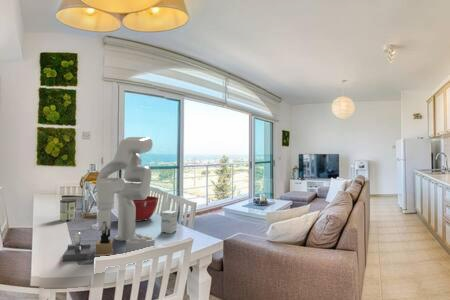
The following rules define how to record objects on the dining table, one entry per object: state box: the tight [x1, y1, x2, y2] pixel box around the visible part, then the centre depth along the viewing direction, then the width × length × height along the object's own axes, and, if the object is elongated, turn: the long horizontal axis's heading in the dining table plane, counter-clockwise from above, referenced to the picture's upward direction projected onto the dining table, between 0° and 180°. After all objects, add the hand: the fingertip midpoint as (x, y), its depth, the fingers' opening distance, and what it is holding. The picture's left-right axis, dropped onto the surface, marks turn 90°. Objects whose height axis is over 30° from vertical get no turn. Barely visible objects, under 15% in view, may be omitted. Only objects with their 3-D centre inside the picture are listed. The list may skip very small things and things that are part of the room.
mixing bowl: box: [132, 195, 159, 221], centre depth 217 cm, size 28×28×15 cm
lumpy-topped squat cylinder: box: [125, 233, 156, 254], centre depth 144 cm, size 10×13×9 cm
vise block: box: [62, 232, 92, 263], centre depth 139 cm, size 12×10×11 cm
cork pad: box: [93, 248, 114, 258], centre depth 144 cm, size 8×8×1 cm
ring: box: [95, 238, 114, 255], centre depth 144 cm, size 7×7×5 cm
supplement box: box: [160, 209, 178, 234], centre depth 185 cm, size 7×7×13 cm
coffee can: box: [59, 198, 77, 222], centre depth 213 cm, size 10×10×14 cm
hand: (105, 239), depth 145 cm, fingers open, 9 cm apart
